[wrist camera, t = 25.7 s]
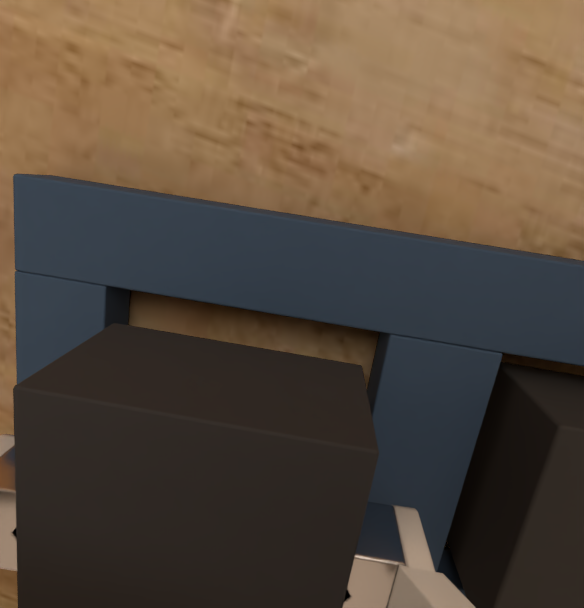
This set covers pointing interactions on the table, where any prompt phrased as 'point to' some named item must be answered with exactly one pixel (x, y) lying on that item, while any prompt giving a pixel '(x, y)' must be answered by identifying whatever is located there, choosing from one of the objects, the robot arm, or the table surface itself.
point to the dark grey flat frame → (308, 308)
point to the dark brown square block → (189, 475)
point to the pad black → (525, 495)
